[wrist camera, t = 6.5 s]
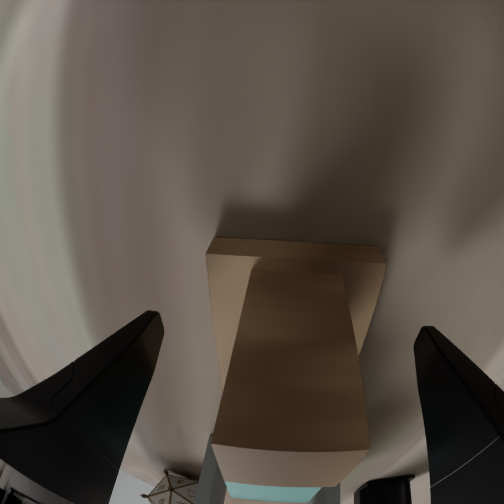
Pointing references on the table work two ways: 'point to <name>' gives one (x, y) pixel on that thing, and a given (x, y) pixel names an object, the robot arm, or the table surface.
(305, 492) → the block
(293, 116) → the table surface
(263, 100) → the table surface
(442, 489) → the robot arm
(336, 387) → the tan plank with cube
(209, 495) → the tunnel
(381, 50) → the table surface
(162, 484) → the game die
